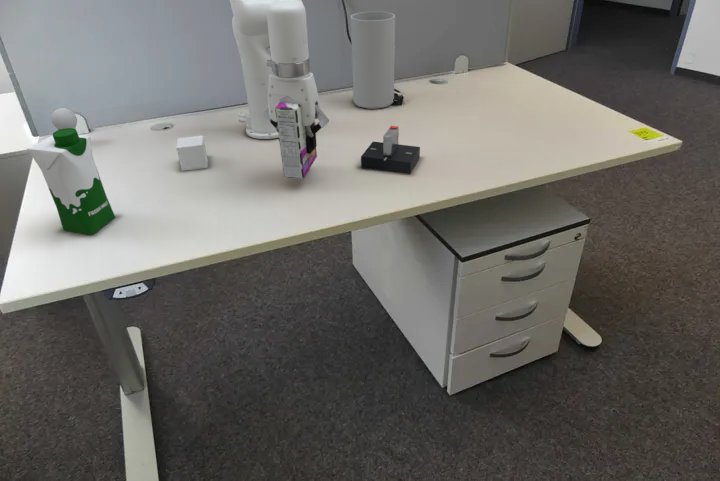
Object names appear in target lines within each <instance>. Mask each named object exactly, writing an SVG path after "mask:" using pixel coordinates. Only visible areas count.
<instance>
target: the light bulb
mask: <svg viewBox="0 0 720 481" xmlns="http://www.w3.org/2000/svg"><path fill="white" fill-rule="evenodd" d="M50 120H51V123H52V125H53V127H54V128H56V130H57V131H58V130H61V129H66V128H73V129H76V130H77V125H78V117H77V115H76V113H75V112H74V111H73V110H72V109H69V108H67V107H60V108H57V109H55V110H54V111H53V112H52V114H51V117H50Z"/></svg>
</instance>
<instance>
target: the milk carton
mask: <svg viewBox="0 0 720 481" xmlns="http://www.w3.org/2000/svg"><path fill="white" fill-rule="evenodd" d="M92 145H93V144H92V137H91V135H86V134H85V135H84V134H79V133H78V131H77V128H76V129H73V128H66V129H61V130H58V129H57V130H56V131H54V132H53V133H52V135H51V136H48V137H46V138H44V139H42V140H40V141H39V142H37V143H34V144H33V145H31V146H29V147H27V148H26V150H27V151H28V153H29V154H30V156H31V157H32V159H33V160H34V161H35V163H36V164H37V166H38V167H39V169H40V171H41V173H42V176H43V179H44V181H45V183H46V185H47V189H48V191H49V193H50V195H51V197H52V201H53V202H54V205H55V207H56V211H57V214H58V216H59V221H60V224H61V227H62V230H63V231H66V232H71V233H77V234H84V235H89V236H94V235H95V234H96V233H98V231H100V230H101V229H103V227H105V226H106V225H107V224H109V223H110V222H111V221H113V220H114V219H115V218H116V215H115V212H114V211H113V208H112V206H111V203H110V201H109V199H108V196H107V194H106V190H105V188H104V185H103V182H102V179H101V176H100V172H99V170H98V167H97V165H96V161H95V159H94V155H93V146H92Z"/></svg>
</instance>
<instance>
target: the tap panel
mask: <svg viewBox="0 0 720 481" xmlns="http://www.w3.org/2000/svg"><path fill="white" fill-rule="evenodd" d="M420 153H421V147H420V146H416V145H407V144H400V143H398V148H397V149H396V151H395V152H394V154H393V155H392V157H388V156H383V141H372V142H370V144H369V145H368V147H367V148H366V150H364V152H363V153H362V154H361V155H360V162H361V163H360V165H361V169H366V170H367V169H369V170H375V171H382V172H383V171H385V172H390V173H391V172H392V173H397V174H404V175H405V174H406V175H411V174H412V173H413V170H414V169H415V167H416V165H417V163H418V162H419V160H420V155H421V154H420Z"/></svg>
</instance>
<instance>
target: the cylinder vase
mask: <svg viewBox="0 0 720 481" xmlns="http://www.w3.org/2000/svg"><path fill="white" fill-rule="evenodd" d="M350 37H351V38H350V39H351V68H352V69H351V70H352V71H351V72H352V101H353V103H354V104H355V105H356V106H357V107H359V108H362V109H369V110H376V109H377V110H378V109H383V108H387V107H390V106H391V105H392V104H393V103H394V101H395V63H396V62H395V61H396V60H395V58H396V57H395V56H396V54H395V52H396V50H395V49H396V48H395V47H396V15H395V14H394V13H392V12H387V11H361V12H357V13H353V14H351V15H350ZM393 99H394V101H393Z"/></svg>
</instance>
